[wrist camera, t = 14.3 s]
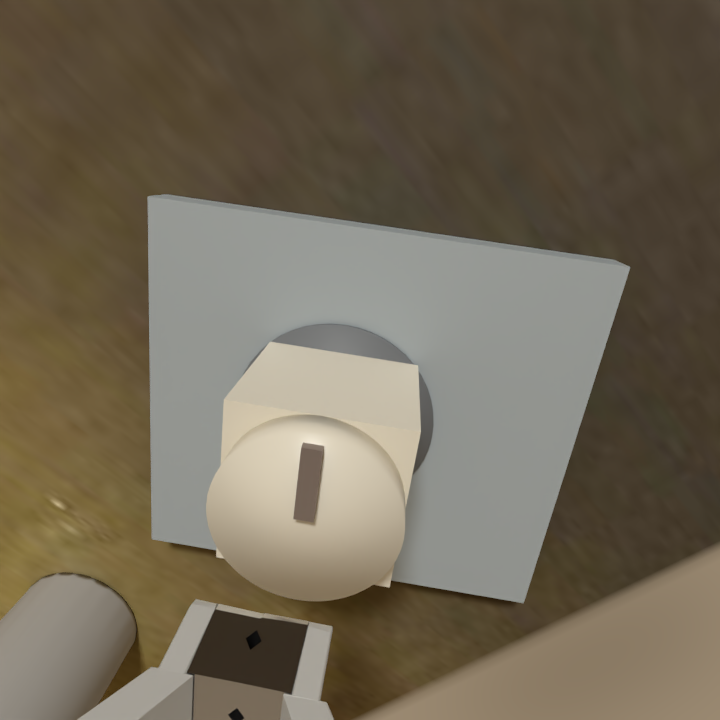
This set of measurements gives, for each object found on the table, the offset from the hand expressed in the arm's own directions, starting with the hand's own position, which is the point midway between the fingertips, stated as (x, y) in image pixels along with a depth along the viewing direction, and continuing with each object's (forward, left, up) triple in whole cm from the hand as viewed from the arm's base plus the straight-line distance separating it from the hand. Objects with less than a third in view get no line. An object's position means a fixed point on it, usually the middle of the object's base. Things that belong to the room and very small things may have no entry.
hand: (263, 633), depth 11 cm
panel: (-1, +1, -13) cm, 13 cm away
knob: (0, +1, -11) cm, 11 cm away
